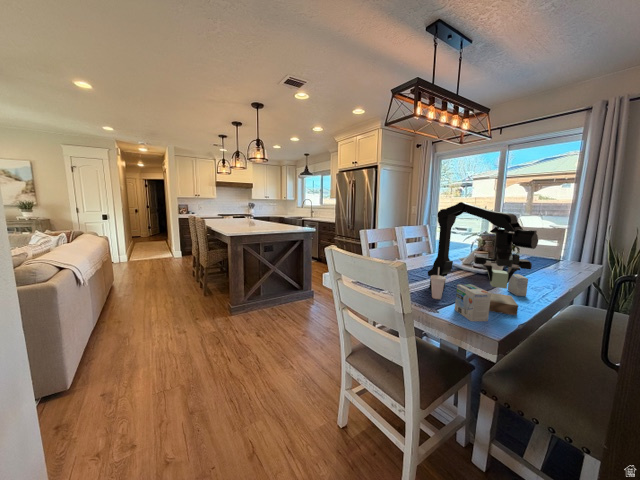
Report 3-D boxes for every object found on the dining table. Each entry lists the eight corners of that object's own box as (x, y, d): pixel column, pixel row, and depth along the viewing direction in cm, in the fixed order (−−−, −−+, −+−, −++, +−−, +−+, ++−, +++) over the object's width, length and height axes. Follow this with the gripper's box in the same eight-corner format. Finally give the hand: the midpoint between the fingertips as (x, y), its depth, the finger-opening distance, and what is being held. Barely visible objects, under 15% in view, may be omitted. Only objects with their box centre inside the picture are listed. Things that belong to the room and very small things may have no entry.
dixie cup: (506, 278, 149) (508, 261, 147) (495, 279, 146) (497, 262, 145) (493, 274, 157) (495, 258, 155) (482, 275, 154) (484, 259, 153)
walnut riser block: (480, 309, 105) (481, 300, 104) (477, 299, 115) (478, 291, 115) (516, 315, 99) (518, 305, 99) (510, 304, 110) (511, 295, 110)
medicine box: (526, 296, 120) (528, 278, 119) (515, 295, 121) (517, 278, 120) (517, 291, 128) (519, 274, 127) (507, 290, 129) (509, 273, 128)
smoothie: (444, 296, 119) (446, 266, 117) (444, 301, 113) (447, 270, 111) (429, 294, 121) (431, 265, 119) (428, 298, 116) (430, 268, 114)
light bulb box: (453, 309, 104) (456, 284, 103) (469, 309, 105) (472, 283, 103) (471, 322, 94) (474, 293, 92) (488, 321, 94) (492, 293, 93)
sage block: (491, 286, 105) (493, 272, 104) (489, 283, 109) (491, 269, 109) (506, 288, 103) (508, 274, 102) (504, 285, 107) (505, 271, 106)
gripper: (478, 245, 100) (474, 284, 103) (538, 250, 92) (532, 292, 95) (475, 241, 110) (471, 277, 113) (529, 245, 102) (524, 283, 105)
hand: (498, 282), depth 106 cm, fingers closed on sage block, 5 cm apart
